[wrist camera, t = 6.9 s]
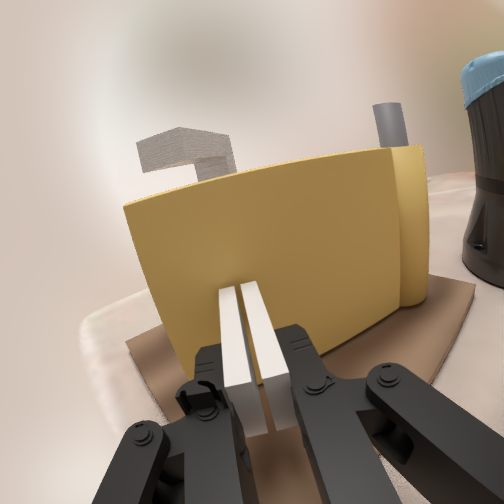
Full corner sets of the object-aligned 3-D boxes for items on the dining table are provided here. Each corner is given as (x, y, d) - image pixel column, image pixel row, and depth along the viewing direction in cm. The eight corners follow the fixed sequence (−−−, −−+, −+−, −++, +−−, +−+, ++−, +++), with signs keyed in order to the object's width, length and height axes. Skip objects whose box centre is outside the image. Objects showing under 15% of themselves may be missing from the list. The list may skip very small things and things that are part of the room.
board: (474, 295, 19) (475, 284, 19) (274, 545, 7) (270, 542, 6) (310, 258, 37) (309, 250, 37) (130, 351, 24) (125, 341, 24)
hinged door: (400, 276, 24) (383, 109, 19) (436, 290, 20) (425, 102, 15) (190, 374, 18) (114, 147, 13) (206, 417, 14) (103, 131, 9)
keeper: (237, 295, 31) (200, 142, 26) (263, 292, 31) (228, 135, 25) (206, 368, 20) (136, 142, 15) (243, 367, 20) (178, 127, 14)
